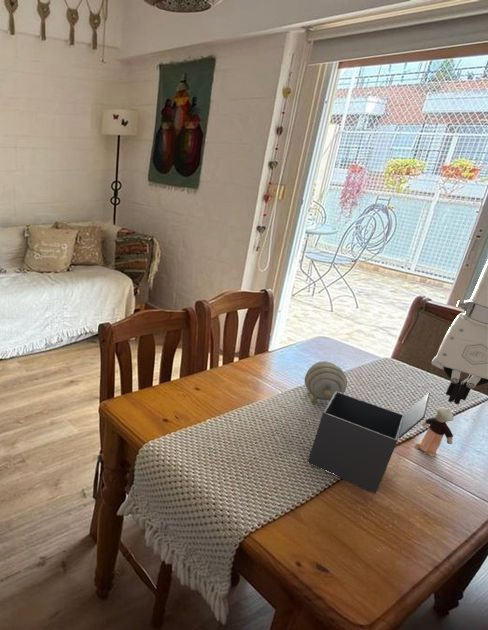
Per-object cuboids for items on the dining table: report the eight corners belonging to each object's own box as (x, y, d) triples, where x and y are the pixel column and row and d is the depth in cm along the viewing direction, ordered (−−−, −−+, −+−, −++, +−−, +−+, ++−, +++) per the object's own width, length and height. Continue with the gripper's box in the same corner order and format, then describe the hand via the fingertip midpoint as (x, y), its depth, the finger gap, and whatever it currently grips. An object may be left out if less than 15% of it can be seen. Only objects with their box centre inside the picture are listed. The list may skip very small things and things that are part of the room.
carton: (384, 465, 103) (405, 415, 97) (375, 494, 95) (397, 440, 89) (320, 439, 111) (335, 391, 105) (307, 463, 103) (322, 412, 97)
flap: (405, 412, 97) (406, 413, 97) (397, 437, 89) (399, 438, 89) (428, 392, 93) (430, 393, 93) (422, 416, 85) (424, 417, 85)
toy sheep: (335, 387, 133) (345, 355, 129) (347, 419, 119) (359, 385, 114) (297, 381, 136) (305, 349, 132) (304, 411, 122) (314, 377, 117)
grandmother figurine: (406, 443, 110) (424, 401, 105) (417, 440, 111) (435, 398, 106) (438, 464, 104) (458, 420, 99) (449, 461, 105) (470, 417, 100)
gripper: (439, 308, 80) (404, 392, 87) (554, 334, 71) (505, 425, 79) (442, 297, 85) (409, 378, 93) (550, 320, 76) (504, 407, 84)
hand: (453, 399), depth 86 cm, fingers closed
